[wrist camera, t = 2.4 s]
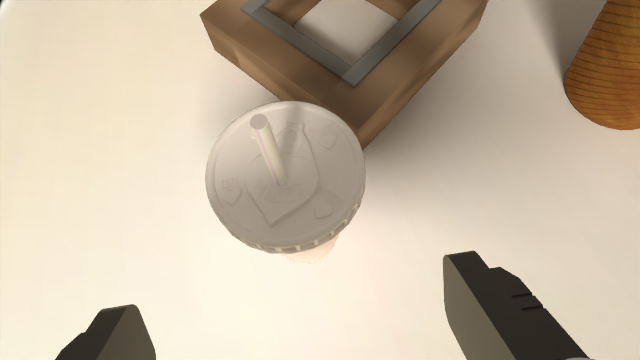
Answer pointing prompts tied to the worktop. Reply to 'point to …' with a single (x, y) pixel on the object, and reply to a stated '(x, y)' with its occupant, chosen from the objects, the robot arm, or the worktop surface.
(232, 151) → the smoothie
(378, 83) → the socket block
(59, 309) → the worktop surface
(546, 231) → the worktop surface
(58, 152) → the worktop surface
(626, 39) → the disposable coffee cup
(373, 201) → the worktop surface
